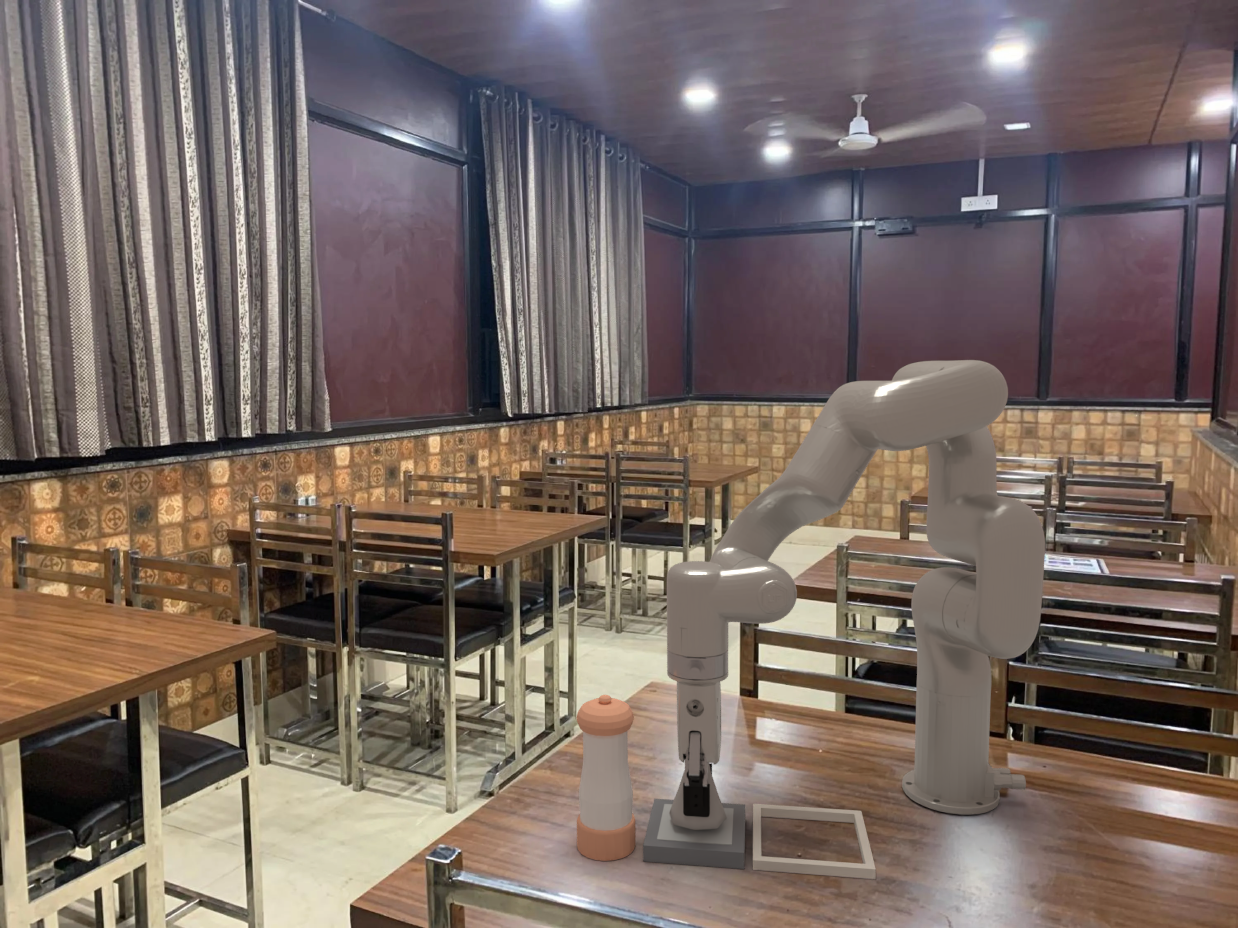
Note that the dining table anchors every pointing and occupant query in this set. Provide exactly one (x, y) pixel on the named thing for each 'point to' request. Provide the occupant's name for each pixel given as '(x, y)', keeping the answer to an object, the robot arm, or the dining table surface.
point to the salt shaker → (605, 781)
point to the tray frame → (813, 866)
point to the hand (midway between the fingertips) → (698, 802)
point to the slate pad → (695, 839)
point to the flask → (698, 823)
